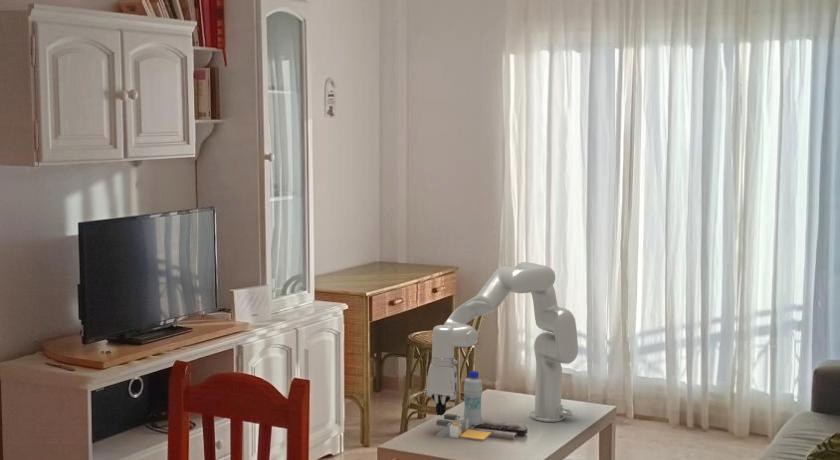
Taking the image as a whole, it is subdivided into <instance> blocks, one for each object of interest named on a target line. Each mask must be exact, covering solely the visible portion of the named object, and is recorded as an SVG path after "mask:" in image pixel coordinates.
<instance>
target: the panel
mask: <svg viewBox="0 0 840 460" xmlns="http://www.w3.org/2000/svg"><path fill="white" fill-rule="evenodd" d="M469 427H470V426H469V418H465V417H464V416H460V418H459V419H457V422H455V421H454V422H452V424H451V425H450V426H444V428H443V429H441V430H440V431H439V432H437V433H436V434H435V435H434V437H435V436H436V437H442V438H449V439H454V440H455V439H456V440H464V441H471V442H478V443H483V442H484V441H485V440H487V438H489V437H490V436H491V435H492V434H493V433H491V434H490V435H489V436H488V437H487V438H485V439H484V440H479V439H472V438H464V437H460V436H461V435H462V434H463V433H464V432H465V431H466V430H468V429H469V430H476V431H481V430H482V429H477V428H476V429H475V428H469Z"/></svg>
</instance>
